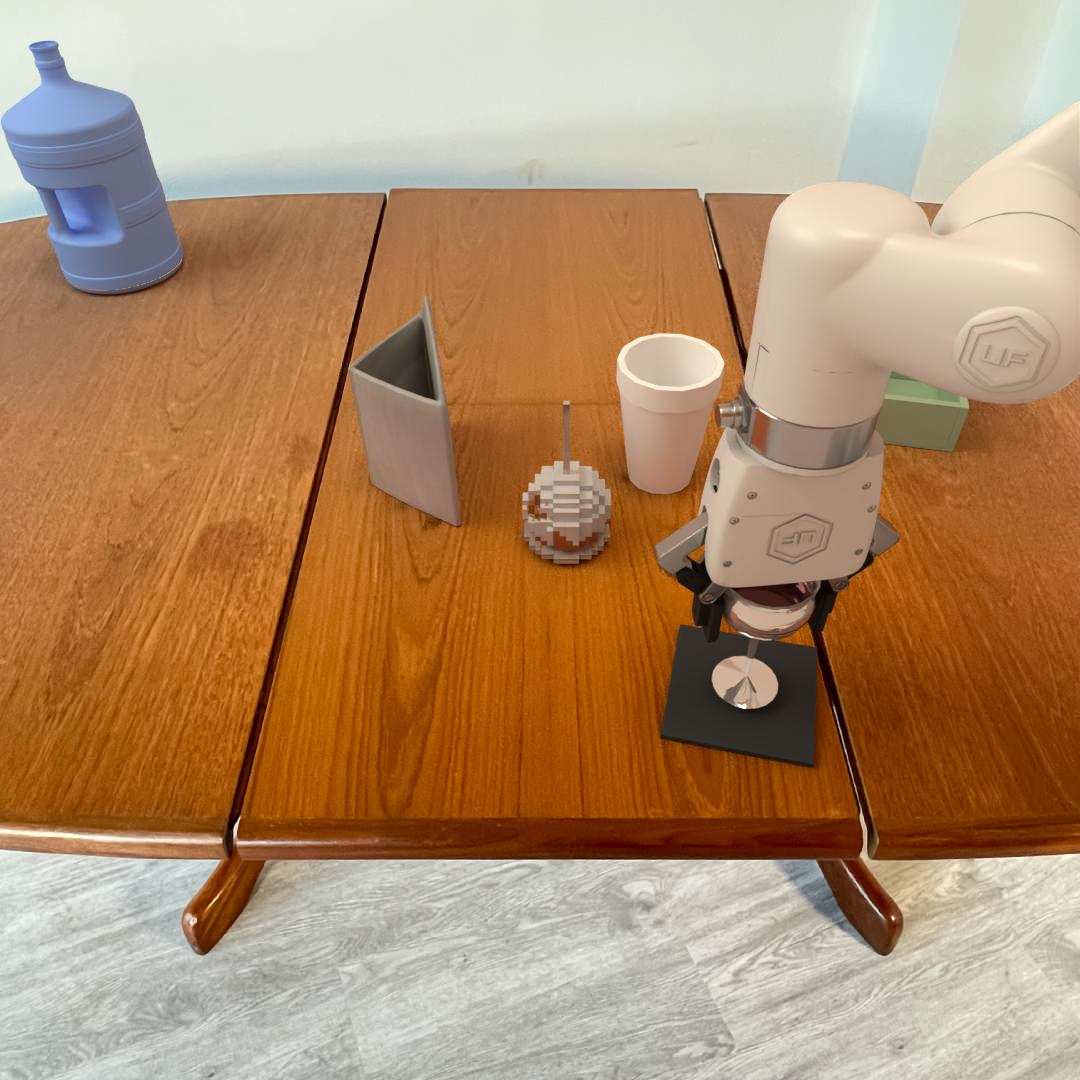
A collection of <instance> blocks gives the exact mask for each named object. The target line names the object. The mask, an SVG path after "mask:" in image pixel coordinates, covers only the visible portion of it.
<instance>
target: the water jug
mask: <svg viewBox="0 0 1080 1080" xmlns="http://www.w3.org/2000/svg"><path fill="white" fill-rule="evenodd" d="M28 50H29V51H30V52H31V54H32V55H33V58H34V65H35V67H36V69H37V70H38V73H39V76H40V79H41V83H40V85H39V86H38V87H36V88H35V89H34V90H33V91H31V92H30V93H28V94H27V95H26V96H24V97H23V98H21V99H20V100H19V101H18V102H16V103H15V104H13V106H11V107H10V108H9V109H7V110H6V111H5V112H4V113H3V114H2V116H1V119H0V126H1V129H2V131H3V133H4V138H5V140H6V143H7V146H8V148H9V151H10V153H11V154H12V155H11V156H12V157H13V159H14V160H15V161H16V164H17V166H18V168H19V171H20V173H21V175H22V177H23V180H24V181H25V182H26V183H28V184H29V185H31V186H32V187H34V188H35V189H36V191H37V193H38V195H39V198H40V200H41V202H42V205H43V207H44V210H45V212H46V214H47V217H48V219H49V221H50V223H49V225H48V226H47V236H48V238H49V241H50V243H51V246H52V248H53V250H54V253H55V254H56V257H57V260H58V262H59V268H60V270H61V272H62V275H63V277H64V278H66V279H67V280H68V281H69V282H70V283H72V284H74V285H76V286H79V287H82V288H87V289H99V290H108V291H96V290H87V289H82V288H78V287H76V286H73V285H72V284H70V283H69V282H68V281H67V280H66V279H65V280H66V281H67V283H68V284H69V285H70V286H72V287H73V288H75V289H76V290H79V291H82V292H84V293H89V294H95V295H119V294H126V293H132V292H136V291H140V290H144V289H146V288H149V287H152V286H155V285H158V284H159V283H161V282H163V281H165V280H166V279H168V278H170V277H171V276H173V274H174V273H176V272H177V271H178V270H179V268H180V267H181V266H182V264H183V261H184V250H183V247H182V244H181V241H180V238H179V237H178V235H177V232H176V228H175V226H174V223H173V219H172V216H171V213H170V211H169V207H168V204H167V201H166V200H167V199H166V194H165V191H164V188H163V183H162V182H161V179H160V178H159V176H158V173H157V170H156V166H155V164H154V160H153V157H152V155H151V151H150V148H149V145H148V142H147V139H146V133H145V129H144V125H143V123H142V119H141V117H140V114H139V113H138V112H137V111H138V110H137V108H136V105H135V103H134V101H133V99H132V98H131V97H130V96H128V94H127V95H126V94H125V93H123V92H120V91H116V90H113V89H109V88H105V87H101V86H98V85H94V84H90V83H87V82H83V81H79V80H75V79H73V78H72V77H71V76H70V74H69V73H68V70H67V67H66V62H65V59H64V57H63V56H62V55H61V52H60V49H59V42H58V41H56V40H40V41H36V42H32V43H30V44H29V45H28ZM182 257H183V259H182ZM181 259H182V261H181ZM180 261H181V263H180ZM179 263H180V264H179ZM178 264H179V265H178ZM177 265H178V266H177ZM176 266H177V267H176ZM175 267H176V268H175ZM174 268H175V269H174ZM172 269H174V270H172ZM171 270H172V271H171ZM170 271H171V272H170ZM168 272H170V273H168ZM167 273H168V274H167ZM165 274H166V275H165ZM163 275H165V276H163ZM162 276H163V277H162ZM159 277H161V278H159ZM158 278H159V279H158ZM155 279H156V280H155ZM152 280H154V281H152ZM150 281H152V282H150ZM147 282H149V283H147ZM143 283H146V284H143ZM141 284H143V285H141ZM137 285H139V286H137ZM134 286H135V287H134ZM128 287H131V288H128ZM122 288H126V289H122ZM115 289H119V290H115Z"/></svg>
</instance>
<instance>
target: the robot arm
mask: <svg viewBox="0 0 1080 1080" xmlns="http://www.w3.org/2000/svg"><path fill="white" fill-rule="evenodd" d="M764 248H765V249H764V254H763V259H762V265H761V267H762V268H761V272H760V279H759V284H758V285H759V286H758V291H757V298H756V303H755V310H754V314H753V315H754V316H753V322H752V330H751V334H750V335H751V336H750V341H749V347H748V355H747V360H746V365H745V370H744V378H743V381H741V382H739V385H738V392H737V395H736V396H735V398H734V400H729V401H728V403H726V402H725V403H717V404H716V405H715V407H714V421H715V425H716V427H717V428H719V429H720V428H724V431H723V432H722V435H721V437H720V439H719V441H718V444H717V446H716V448H715V451H714V454H713V457H712V460H711V463H710V466H709V468H708V472H707V476H706V479H705V482H704V486H703V490H702V495H701V499H700V503H699V508H698V513H697V516H696V517H694V518H693V519H692V520H690V521H689V522H687V523H686V524H684V525H683V526H681V527H679V528H678V529H677V530H675V531H674V532H673V533H671V534H670V535H668V536H667V537H665V538H664V539H662V540H661V541H659V542H658V543H656V544H655V545H654V547H653V548H652V549H653V553H654V557H655V561H656V564H657V565H658V566H659V567H660V568H662V570H664V571H665V572H666V573H668V574H669V575H670V576H672V577H674V578H676V581H677V583H678V584H680V585H681V586H682V587H684V588H686V589H687V590H688V591H689V592H691V593H693V596H692V598H693V599H692V605H691V615H692V620H693V623H694V627H701V628H703V631H704V634H705V637H706V641H707V643H712V642H716V640H718V637H719V632H720V631H721V626H722V621H723V617H722V616H723V611H724V603H723V600H722V597H721V594H722V593H723V592H724V591H725V590H726V588H727V587H753V586H765V585H776V584H787V583H798V582H808V581H817V580H821V583H820V588H819V590H818V592H817V593H816V604H815V609H814V612H813V614H812V615H811V617H810V619H809V620H808V622H807V625H808V626H809V629H810V630H811V632H814V633H822V632H824V629H825V626H826V624H827V623H826V622H827V620H828V618H829V617H828V616H829V615H830V614H832V613H833V610H834V608H835V604H836V601H837V597H838V595H839V593H840V592H844V591H846V590H847V589H848V588H849V587H850V585H851V582H850V580H851V579H852V578H854V577H856V576H857V575H858V574H860V573H861V572H862V571H864V570H866V569H867V568H869V567H870V566H871V565H873V563H874V562H875V558H876V557H880V556H881V555H883V554H884V553H885V552H887V551H888V550H889V549H891V548H892V547H895V545H896V544H898V543H899V542H900V540H901V537H900V534H899V533H898V531H897V530H896V528H895V526H894V524H893V523H892V522H891V521H890V520H888V519H887V518H886V517H884V516H883V515H881V514H880V513H879V508H880V504H881V496H882V489H883V488H882V487H883V479H884V464H885V462H884V461H885V444H884V442H883V439H882V438H881V436H880V435H879V433H878V432H877V431H876V430H875V427H876V424H877V420H878V417H879V414H880V410H881V407H882V403H883V399H884V396H885V393H886V389H887V386H888V383H889V379H890V376H891V373H892V371H893V372H896V373H899V374H901V375H904V376H907V377H909V378H912V379H915V380H917V381H920V382H922V383H925V384H927V385H930V386H932V387H935V388H938V389H940V390H943V391H946V392H948V393H951V394H954V395H957V396H960V397H964V398H968V400H970V401H971V400H972V401H975V402H982V403H987V404H994V405H995V404H996V405H1018V404H1020V405H1021V404H1025V403H1031V402H1035V401H1040V400H1042V399H1045V398H1047V397H1050V396H1052V395H1055V394H1056V393H1058V392H1061V391H1062V390H1063V389H1065V388H1066V387H1068V386H1069V385H1071V384H1072V383H1073V382H1074V381H1075V380H1077V379H1078V378H1079V377H1080V99H1079V100H1077V101H1075V102H1074V103H1073V104H1071V105H1069V106H1068V107H1066V108H1065V109H1063V110H1062V111H1060V112H1059V113H1058V114H1055V116H1053V117H1052V118H1050V119H1049V120H1047V121H1046V122H1044V123H1043V124H1041V125H1039V127H1037V128H1035V129H1034V130H1032V131H1031V132H1030V133H1028V134H1026V135H1024V137H1022V138H1020V139H1019V140H1017V141H1016V142H1015V143H1013V144H1011V145H1010V146H1008V147H1007V148H1005V149H1004V150H1003V151H1001V152H1000V153H999V154H997V155H995V156H994V157H993V158H991V159H990V160H988V161H987V162H986V163H985V164H983V165H982V166H980V167H979V168H978V169H977V170H975V171H974V172H973V173H972V174H971V175H970V176H968V177H967V178H966V179H965V180H964V181H963V182H961V184H960V185H959V186H957V188H956V189H954V191H953V192H952V193H951V194H950V195H949V196H948V198H946V200H945V201H944V203H943V204H942V206H941V207H940V209H939V210H938V211H937V213H936V215H935V217H934V218H933V221H932V224H931V225H930V221H929V219H928V216H927V214H926V212H925V211H924V210H923V208H922V207H921V206H920V205H919V204H918V203H917V202H916V201H915V200H914V199H912V198H911V197H910V196H907V195H905V193H902V192H899V191H897V190H896V189H892V188H890V187H885V186H882V185H877V184H873V183H867V182H860V181H829V182H827V181H826V182H821V183H815V184H811V185H807V186H804V187H802V188H800V189H798V190H796V191H794V192H793V193H791V194H789V195H788V196H786V198H785V199H784V200H783V201H782V202H781V203H779V205H778V207H777V208H776V209H775V212H774V214H773V215H772V218H771V221H770V223H769V228H768V233H767V237H766V243H765V247H764ZM703 546H704V551H703V552H702V554H701V555H700V556H699V557H698V558H697V560H695V559H693V558H692V557H690V556H689V555H691V554H692V553H694V552H695V551H697V550H698V549H700V548H701V547H703ZM811 586H812V584H811ZM812 587H813V586H812Z"/></svg>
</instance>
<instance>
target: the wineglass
mask: <svg viewBox="0 0 1080 1080" xmlns="http://www.w3.org/2000/svg"><path fill="white" fill-rule="evenodd" d="M820 583H821V580H817V581H808V582H798V583H787V584H776V585H765V586H753V587H727V588H726V590H725V591H724V592H723V593H722V594H721V597H722V600H723V603H724V611H723V616H722V619H723V620H724V622H725V623H726V624H727V625H728V626H730V627H731V628H732V629H733V630H735V632H737V633H738V634H741V635H746V636H748V637H750V640H749V646H748V653H747V657H746V656H733V657H730V658H727V659H724V660H723V661H721V662H720V663H719V664H717V666H716V667H715V669H714V671H713V675H712V682H713V687H714V689H715V690H716V692H717V693H718V695H719V696H720V697H721V698H722V699H724V700H725V701H726V702H728V703H730V704H732V705H734V706H736V707H741V708H745V709H751V708H759V707H762V706H765V705H767V704H768V703H770V702H771V701H772V700H773V699H774V697H775V696H776V694H777V691H778V682H777V678H776V676H775V674H774V673H773V671H772V670H771V669H770V668H769V667H768V666H767V665H766V664H764V663H763V662H761V661H759V660H757V659H755V658H754V657H755V653H756V650H757V647H758V644H759V640H776V641H781V640H783V639H785V638H786V639H787V638H789V637H791V636H793V635H794V634H796V633H797V632H798V631H800V630H801V629H802V628H804V627H805V626H806V625H807V624H808V620H809V619H810V617H811V615H812V614H813V612H814V609H815V604H816V593H817V592H818V590H819V588H820ZM811 584H812V586H813V587H812V586H811Z"/></svg>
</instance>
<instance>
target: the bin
mask: <svg viewBox="0 0 1080 1080" xmlns="http://www.w3.org/2000/svg"><path fill="white" fill-rule="evenodd" d="M969 411H970V403H969V399H968V398H964V397H960V396H957V395H954V394H951V393H948V392H946V391H943V390H940V389H938V388H935V387H932V386H930V385H927V384H925V383H922V382H920V381H917V380H915V379H912V378H909V377H907V376H904V375H901V374H899V373H896V372H893V371H892V373H891V376H890V379H889V383H888V386H887V389H886V393H885V396H884V399H883V403H882V407H881V410H880V414H879V417H878V420H877V424H876V427H875V430H876V431H877V432H878V433H879V435H880V436H881V438H882V439H883V442H884V445H893V446H901V447H909V448H917V449H924V450H932V451H939V452H949V453H953V452H954V450H955V447H956V445H957V442H958V439H959V437H960V434H961V432H962V429H963V427H964V425H965V421H966V418H967V416H968V414H969Z"/></svg>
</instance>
